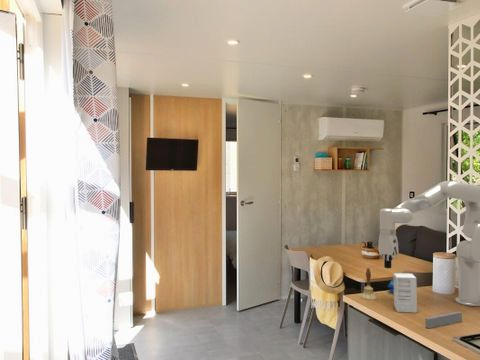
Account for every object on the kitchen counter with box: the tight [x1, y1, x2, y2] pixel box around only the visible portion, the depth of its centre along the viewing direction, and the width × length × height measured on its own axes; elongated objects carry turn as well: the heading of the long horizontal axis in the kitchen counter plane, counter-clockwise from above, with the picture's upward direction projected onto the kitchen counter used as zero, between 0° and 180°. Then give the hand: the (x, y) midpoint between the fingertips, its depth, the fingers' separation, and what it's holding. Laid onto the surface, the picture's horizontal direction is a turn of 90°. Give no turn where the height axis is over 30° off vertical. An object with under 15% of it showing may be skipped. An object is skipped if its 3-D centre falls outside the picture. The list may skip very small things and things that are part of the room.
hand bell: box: [360, 267, 377, 301], centre depth 215 cm, size 8×8×16 cm
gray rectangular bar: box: [424, 311, 463, 329], centre depth 175 cm, size 20×2×4 cm, turn 112°
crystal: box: [387, 279, 394, 294], centre depth 222 cm, size 7×9×12 cm
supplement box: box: [392, 272, 418, 314], centre depth 195 cm, size 10×9×17 cm
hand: (387, 267), depth 205 cm, fingers closed
